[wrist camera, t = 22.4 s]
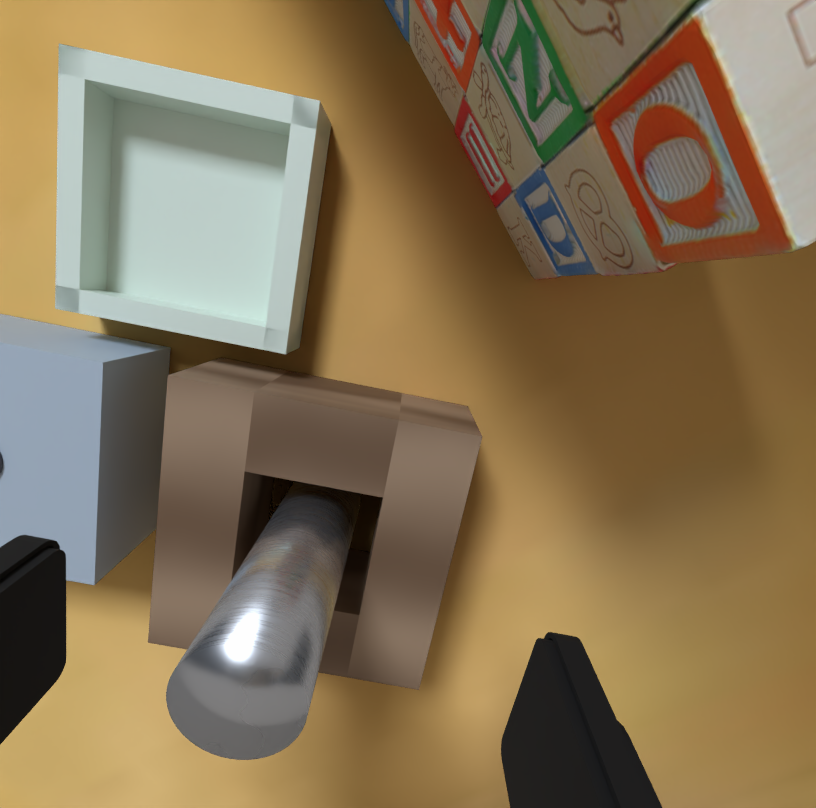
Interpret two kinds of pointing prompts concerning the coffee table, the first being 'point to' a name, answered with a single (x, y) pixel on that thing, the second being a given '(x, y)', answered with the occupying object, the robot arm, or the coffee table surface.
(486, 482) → the coffee table surface
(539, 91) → the stack of blocks
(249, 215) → the tray
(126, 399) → the block
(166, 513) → the square-holed wooden block
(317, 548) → the cylinder
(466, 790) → the coffee table surface
